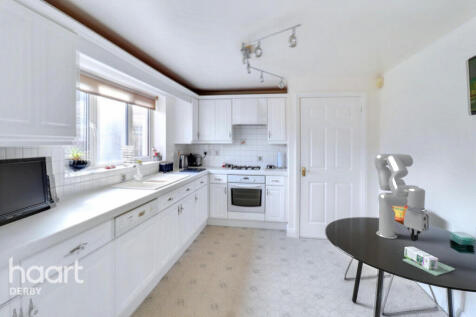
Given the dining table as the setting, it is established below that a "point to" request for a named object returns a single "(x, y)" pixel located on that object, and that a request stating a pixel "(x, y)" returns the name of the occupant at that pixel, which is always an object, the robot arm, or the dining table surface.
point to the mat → (441, 269)
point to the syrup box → (421, 258)
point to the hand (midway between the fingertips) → (414, 240)
